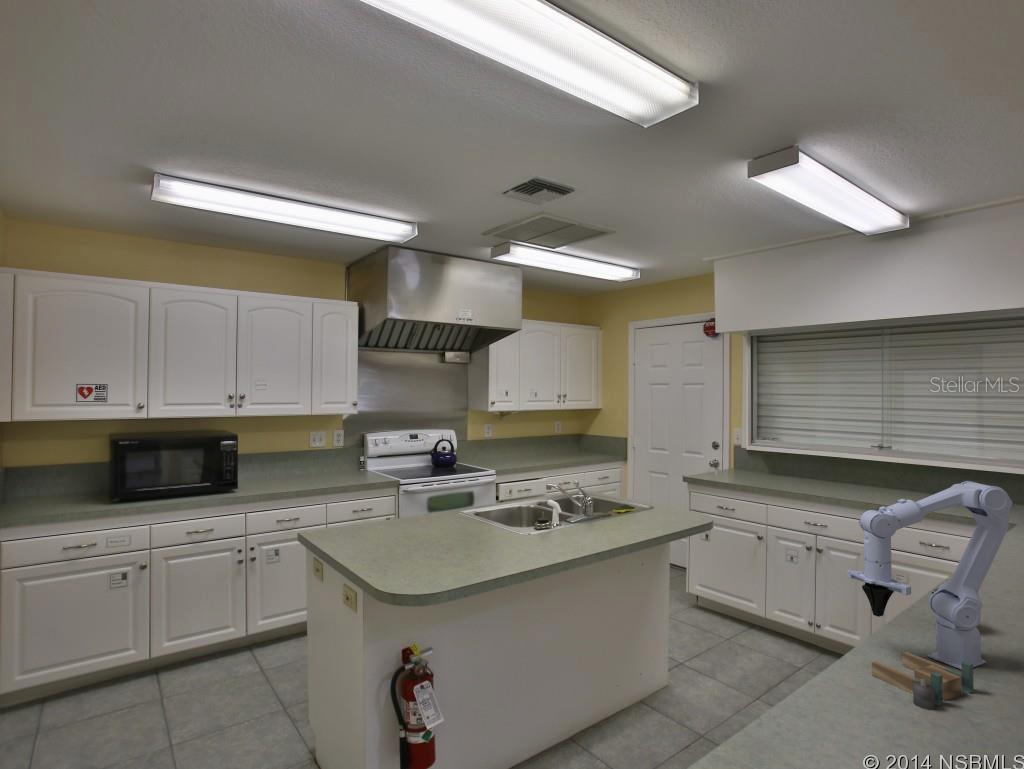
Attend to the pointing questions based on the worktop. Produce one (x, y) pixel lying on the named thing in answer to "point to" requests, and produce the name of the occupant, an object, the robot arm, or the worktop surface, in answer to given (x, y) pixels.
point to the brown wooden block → (949, 680)
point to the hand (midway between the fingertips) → (878, 615)
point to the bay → (922, 680)
